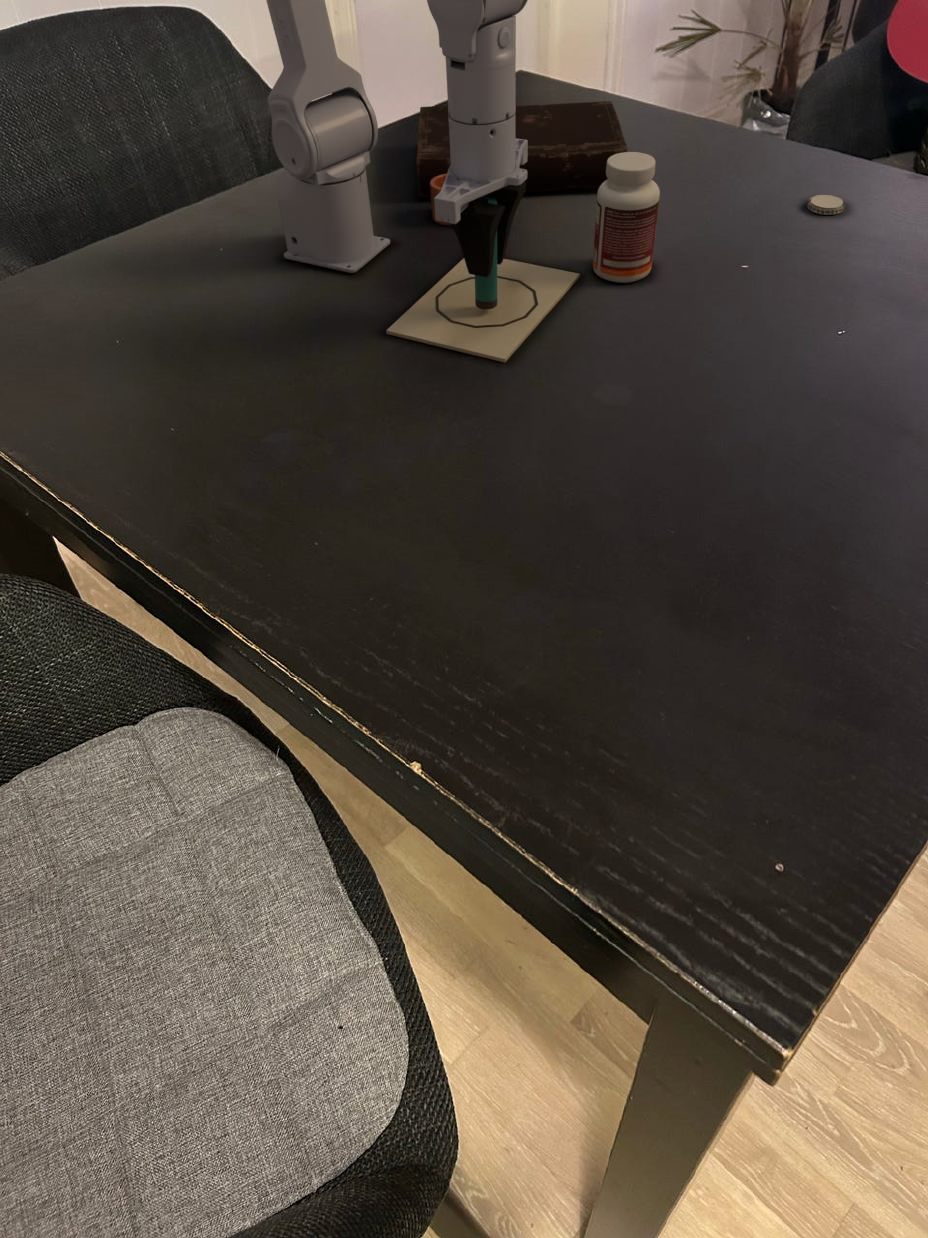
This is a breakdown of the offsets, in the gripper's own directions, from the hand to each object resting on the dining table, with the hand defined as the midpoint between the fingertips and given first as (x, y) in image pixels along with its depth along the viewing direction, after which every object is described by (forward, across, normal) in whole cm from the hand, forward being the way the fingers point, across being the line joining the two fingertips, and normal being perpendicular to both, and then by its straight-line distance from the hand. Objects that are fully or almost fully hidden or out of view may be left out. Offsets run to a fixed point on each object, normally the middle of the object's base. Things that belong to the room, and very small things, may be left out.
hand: (485, 267), depth 84 cm
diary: (+5, +35, +13) cm, 37 cm away
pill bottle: (+5, +14, -9) cm, 17 cm away
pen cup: (+5, +19, +14) cm, 24 cm away
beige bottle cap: (+5, +37, -25) cm, 45 cm away
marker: (+4, 0, 0) cm, 4 cm away
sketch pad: (+5, +2, +1) cm, 5 cm away
